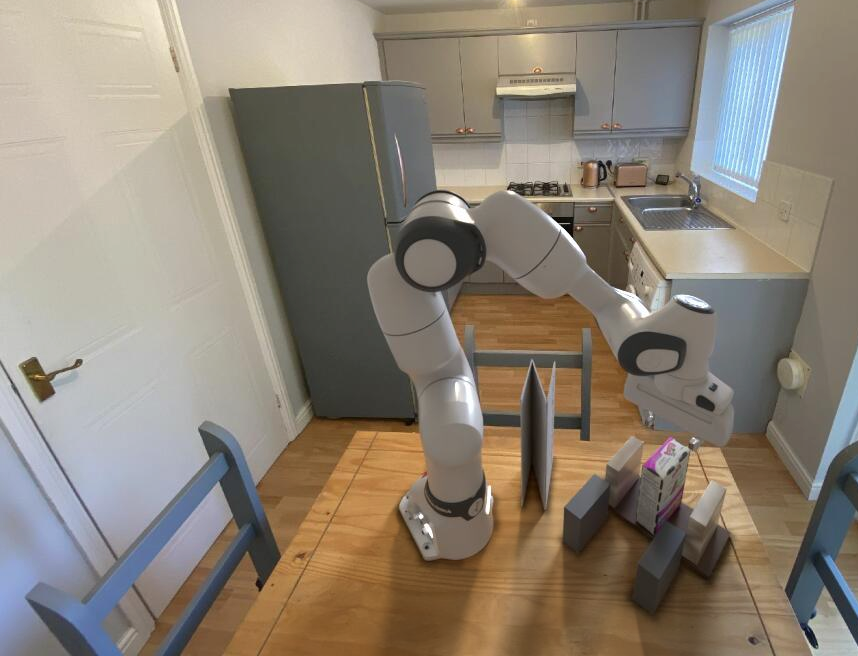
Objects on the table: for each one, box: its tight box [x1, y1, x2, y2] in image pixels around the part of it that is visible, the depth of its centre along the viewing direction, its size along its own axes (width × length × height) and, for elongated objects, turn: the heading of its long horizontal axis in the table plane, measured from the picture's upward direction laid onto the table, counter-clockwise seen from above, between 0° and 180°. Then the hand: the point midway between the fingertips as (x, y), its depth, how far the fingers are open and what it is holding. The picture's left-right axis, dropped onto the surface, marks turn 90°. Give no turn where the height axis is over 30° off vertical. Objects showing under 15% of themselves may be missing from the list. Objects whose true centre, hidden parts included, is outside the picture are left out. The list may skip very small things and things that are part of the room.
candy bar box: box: [636, 436, 692, 535], centre depth 88 cm, size 11×5×16 cm, turn 131°
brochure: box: [519, 358, 556, 511], centre depth 95 cm, size 14×6×30 cm, turn 168°
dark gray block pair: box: [562, 473, 686, 616], centre depth 82 cm, size 20×11×10 cm, turn 46°
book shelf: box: [604, 435, 732, 581], centre depth 89 cm, size 26×12×12 cm, turn 46°
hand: (669, 436), depth 83 cm, fingers open, 8 cm apart
